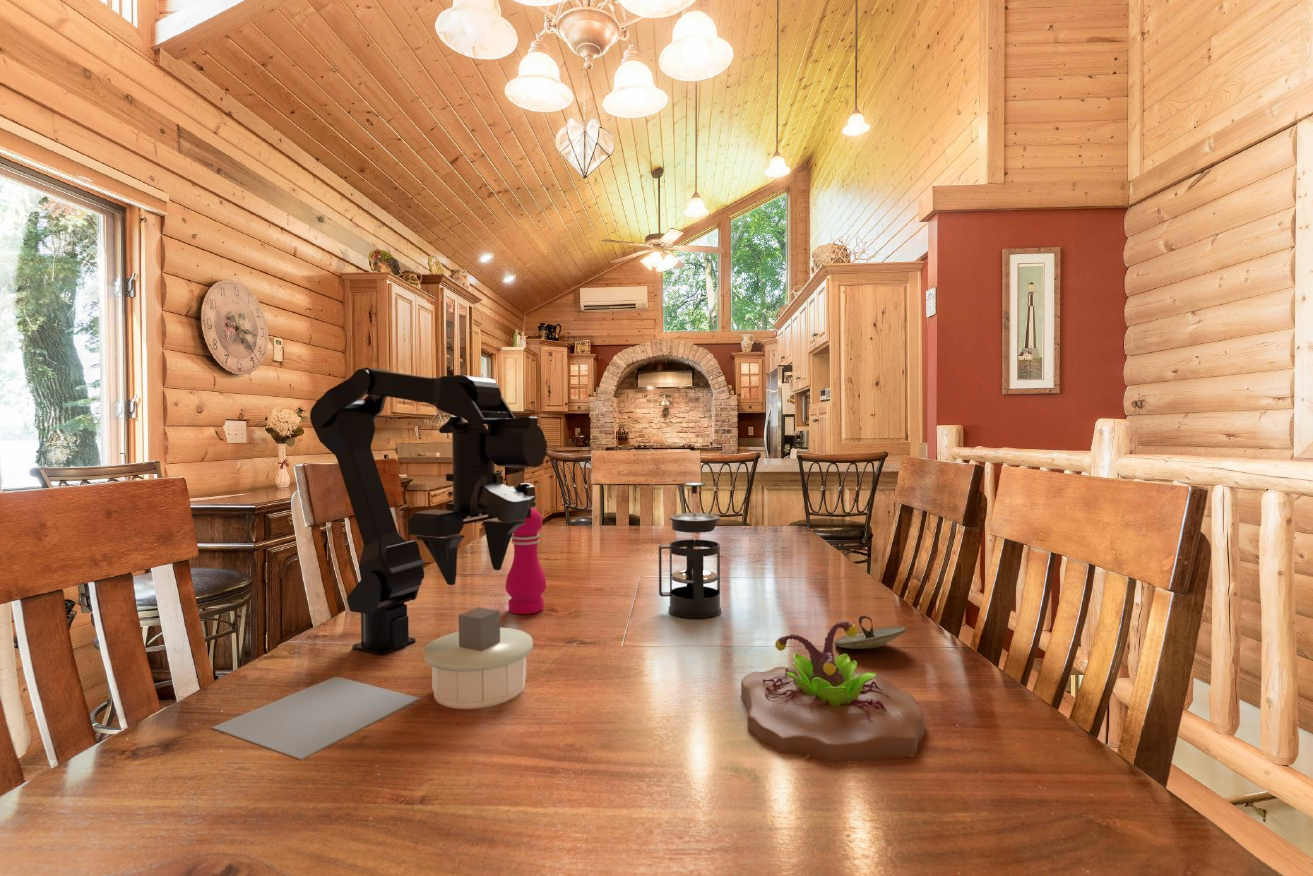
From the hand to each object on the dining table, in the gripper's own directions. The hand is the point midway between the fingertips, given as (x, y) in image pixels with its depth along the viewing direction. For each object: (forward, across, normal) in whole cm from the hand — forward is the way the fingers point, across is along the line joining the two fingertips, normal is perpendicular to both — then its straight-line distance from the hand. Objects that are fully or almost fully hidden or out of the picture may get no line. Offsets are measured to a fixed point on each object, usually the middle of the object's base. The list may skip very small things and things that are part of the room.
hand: (475, 577), depth 86 cm
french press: (+12, +35, -19) cm, 41 cm away
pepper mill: (+12, +23, +9) cm, 28 cm away
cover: (+7, -7, -7) cm, 12 cm away
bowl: (+12, -7, -7) cm, 16 cm away
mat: (+12, -20, +5) cm, 24 cm away
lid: (+12, +28, -50) cm, 58 cm away
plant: (+13, +5, -48) cm, 50 cm away
